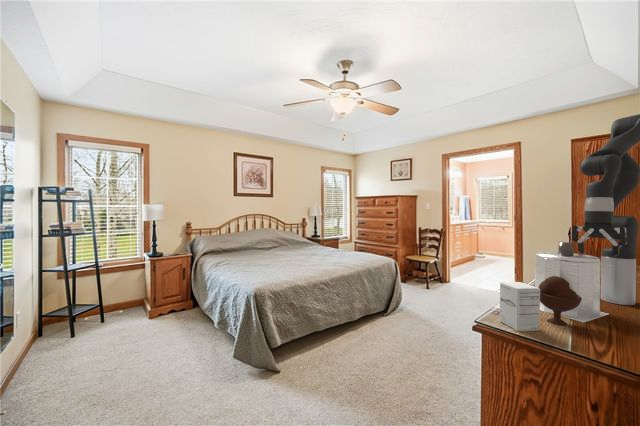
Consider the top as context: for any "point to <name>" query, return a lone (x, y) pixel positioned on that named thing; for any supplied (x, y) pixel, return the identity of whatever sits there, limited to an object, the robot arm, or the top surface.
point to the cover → (572, 278)
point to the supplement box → (520, 306)
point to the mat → (584, 319)
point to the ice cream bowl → (558, 298)
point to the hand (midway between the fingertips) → (597, 254)
